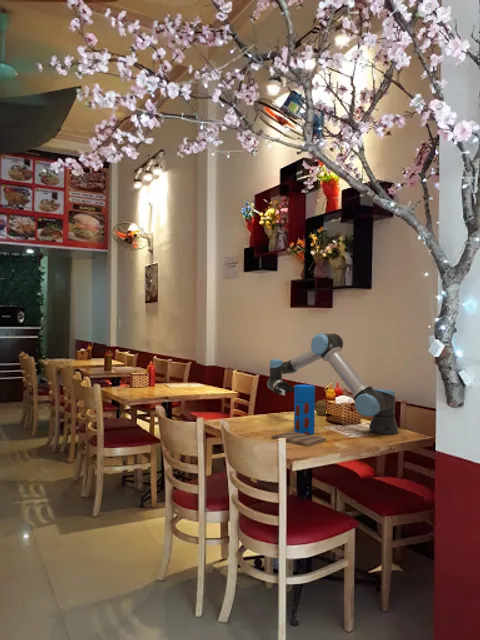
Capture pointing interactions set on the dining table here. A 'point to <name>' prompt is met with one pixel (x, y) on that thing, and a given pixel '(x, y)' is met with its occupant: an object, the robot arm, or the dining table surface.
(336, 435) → the dining table surface
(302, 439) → the serving board
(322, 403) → the pot
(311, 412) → the thermos
